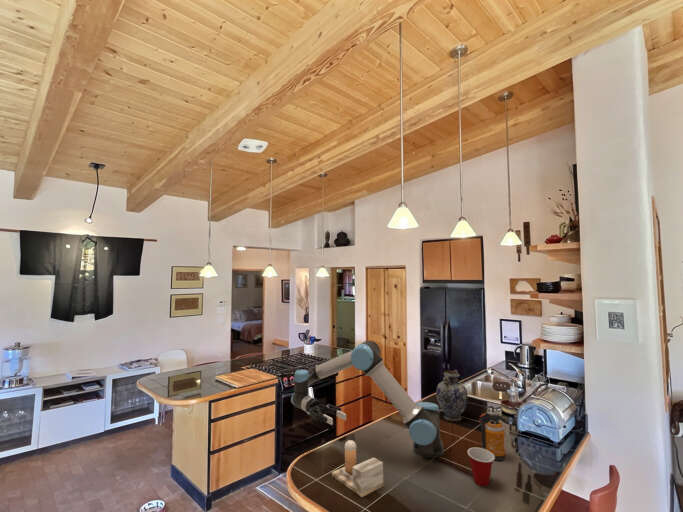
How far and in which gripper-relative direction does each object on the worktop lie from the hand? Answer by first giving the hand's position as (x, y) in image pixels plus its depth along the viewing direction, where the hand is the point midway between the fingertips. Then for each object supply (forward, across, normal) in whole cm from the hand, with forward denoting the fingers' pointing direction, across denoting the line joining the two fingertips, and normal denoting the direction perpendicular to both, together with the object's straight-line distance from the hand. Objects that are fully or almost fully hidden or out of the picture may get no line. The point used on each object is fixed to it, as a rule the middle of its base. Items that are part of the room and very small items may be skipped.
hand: (338, 419), depth 162 cm
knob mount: (+12, 0, -22) cm, 25 cm away
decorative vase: (-1, -89, -22) cm, 92 cm away
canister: (+39, -64, -22) cm, 78 cm away
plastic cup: (+47, -40, -22) cm, 65 cm away
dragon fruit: (+21, -92, -22) cm, 97 cm away
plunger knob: (+8, 0, -20) cm, 22 cm away
